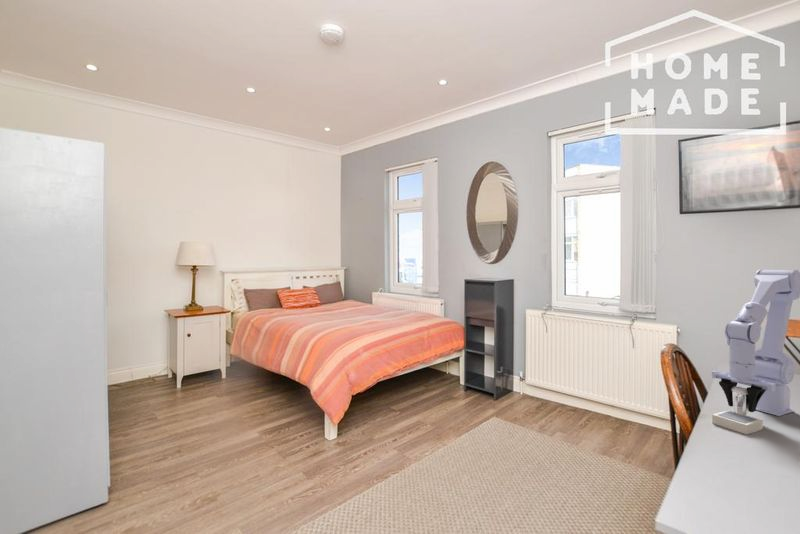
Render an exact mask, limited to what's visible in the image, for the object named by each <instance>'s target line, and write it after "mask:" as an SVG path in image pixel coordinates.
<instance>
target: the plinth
mask: <svg viewBox="0 0 800 534" xmlns="http://www.w3.org/2000/svg"><path fill="white" fill-rule="evenodd" d="M711 416H712V417H711V423H712V424H714V425H716V426H719V427H722V428H726V429H729V430H732V431H733V432H734V431H735V432H738V433H742V434H744V435H750V434H753V433H755V432H759V431H761V430H763V427H764V425H763V419H760V418H757V417H753V416H749V415H748V416H746V415H743V414H740V413H736V412H733V411H731V410H729V409H727V410H724V411H719V412H716V413H713V414H712V415H711Z"/></svg>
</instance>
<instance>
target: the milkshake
mask: <svg viewBox="0 0 800 534" xmlns="http://www.w3.org/2000/svg"><path fill="white" fill-rule="evenodd" d="M746 388H747V387H743V386H737V387H733V388H732V389H731V394H732V406H731V407H732V409H731V410H732V411H733V412H736V413H740V414H743V415H746V416H749V414H750V412H749V410H748V403H749V400H748V393H747V389H746Z"/></svg>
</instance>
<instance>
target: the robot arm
mask: <svg viewBox="0 0 800 534" xmlns="http://www.w3.org/2000/svg"><path fill="white" fill-rule="evenodd" d="M753 281H754V285H755V290H754V292H753V295H752V297H751V300H750V302H746V303H744V304H743V306H741V308H740V310H739V312H738V313H737V315H736V317H735V319H734V320H732V321H729V322H727V324H726V326H725V330H724V335H725V338H726V342H727V343H726V344H727V346H729V348H728V349H729V360H728V361H729V362H728V363H729V365H728V366H729V367H728V371H729V372H723V371H718V370H712V371H711V378H713V379H718V380H720V381H718V382H719V383H718V385H719V386H720V387H721V389H722V391H723V393H724V395H725V397H726V401H727V403H728V407H732V394H731V389H732V388H733V387H738V386H737V385H738V384H741V385H745V386H747V387H745V388H746V389H747V393H748V400H749V403H748V410H749V413H754V412H756V411H759V412H763V413H767V414H770V415H774V416H777V417H780V416H781V417H782V416H784V415H786V414H790V413H793V412H795V409H793V408H791V389H790V387H789V386H788V385H789V384H790V383H792V382H793V379H794V376H795V371H794V370H795V369H794V367H795V366H794V361H793V360H794V359H793V360H792V358H791V357H790V356H789V355H787V354H785V352H784V348H785V342H786V337H787V332H788V327H789V321H790V316H791V315H790V314H791V310H792V305H793V302H794V301H795V300H798V299H800V271H799V270H798V269H791V270H790V269H763V268H762V269H758V270H757V271H756V272H755V274H754V276H753ZM768 304H769V307H768V309H766V307H767V306H768ZM766 318H767V319H766ZM765 319H766V323H765V326H764V327H765V328H764V333H763V338H762V343H761V347H760V348H758V349H756V343H758V342H759V340H760V337H761V331H762V324H763V322H764V320H765Z"/></svg>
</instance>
